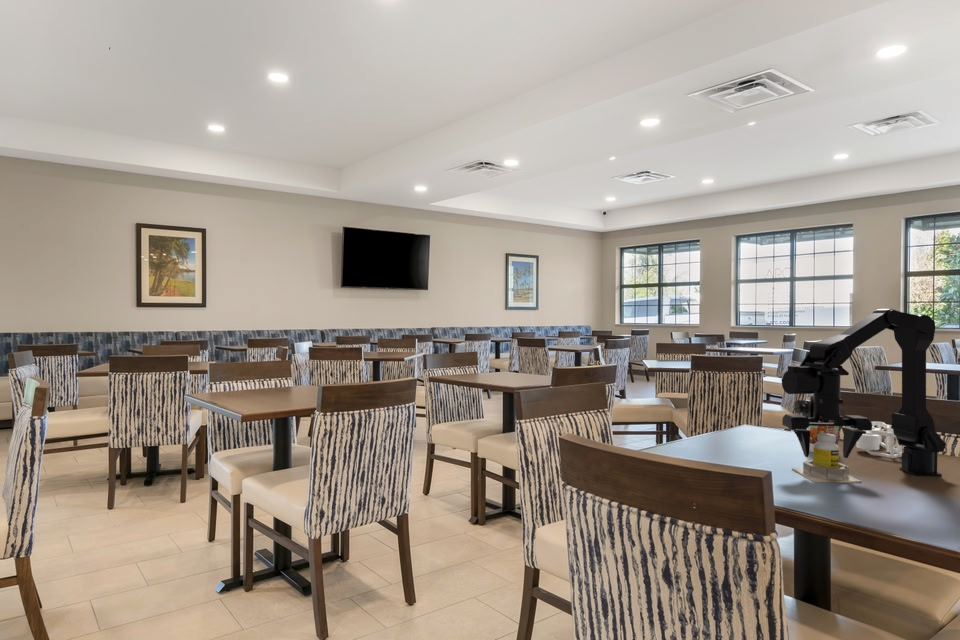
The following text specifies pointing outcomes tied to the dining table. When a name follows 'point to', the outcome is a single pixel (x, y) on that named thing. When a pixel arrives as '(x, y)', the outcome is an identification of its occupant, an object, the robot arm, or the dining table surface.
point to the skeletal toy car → (879, 441)
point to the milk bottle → (821, 429)
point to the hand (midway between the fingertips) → (825, 457)
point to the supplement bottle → (826, 451)
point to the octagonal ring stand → (826, 473)
